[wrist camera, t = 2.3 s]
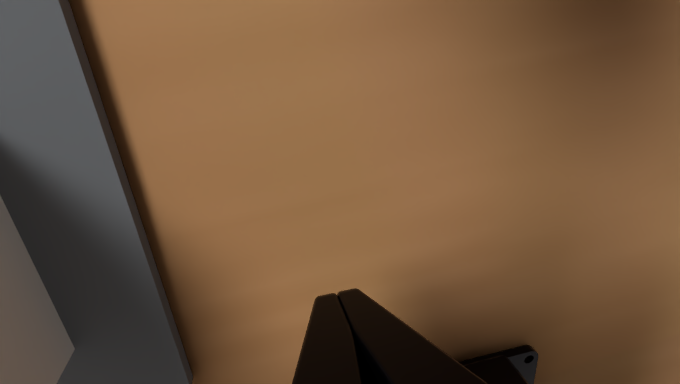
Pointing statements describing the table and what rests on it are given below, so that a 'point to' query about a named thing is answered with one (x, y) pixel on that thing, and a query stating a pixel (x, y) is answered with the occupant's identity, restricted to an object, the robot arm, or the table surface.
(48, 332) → the tile
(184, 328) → the table surface
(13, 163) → the mat
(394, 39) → the table surface
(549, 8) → the table surface
